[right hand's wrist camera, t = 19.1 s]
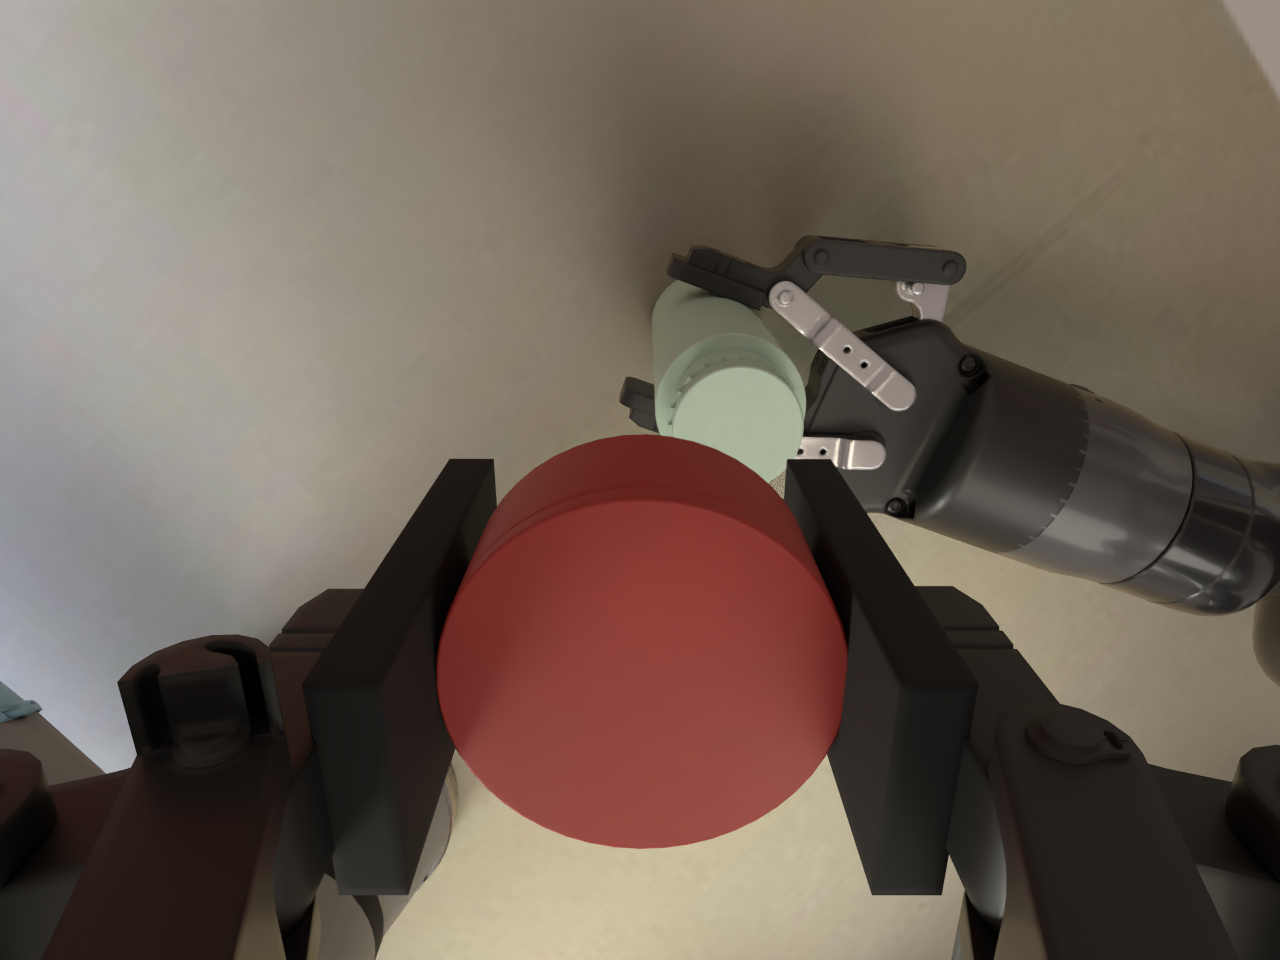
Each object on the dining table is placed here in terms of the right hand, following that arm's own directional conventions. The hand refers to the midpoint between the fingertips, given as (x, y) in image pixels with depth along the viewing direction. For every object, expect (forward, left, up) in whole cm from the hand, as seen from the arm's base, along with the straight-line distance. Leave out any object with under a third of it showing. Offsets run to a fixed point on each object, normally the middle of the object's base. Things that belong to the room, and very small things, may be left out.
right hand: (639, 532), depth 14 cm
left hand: (0, 0, -19) cm, 19 cm away
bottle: (-1, -3, -25) cm, 25 cm away
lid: (0, 0, +4) cm, 4 cm away
